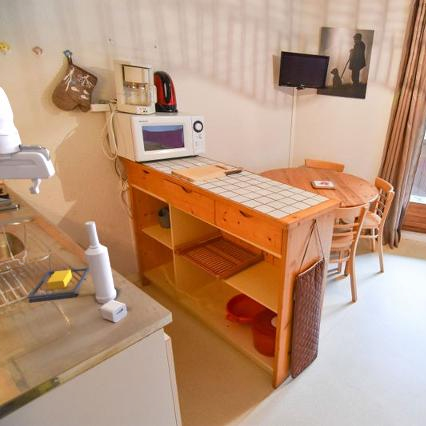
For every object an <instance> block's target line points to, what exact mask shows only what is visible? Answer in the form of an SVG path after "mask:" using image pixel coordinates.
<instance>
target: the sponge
mask: <svg viewBox="0 0 426 426" xmlns="http://www.w3.org/2000/svg"><path fill="white" fill-rule="evenodd" d="M63 270H64V271H61V270H54V271H55V272H54V274H51V276H50V278H49V279H48V281H47V282H46V283H47V286H48V289H49V290H58V289H65V288H67V286H68V284H69V283H70V281H71V280H72V278H73V274H72V272H71V270H72V269H63Z"/></svg>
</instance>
